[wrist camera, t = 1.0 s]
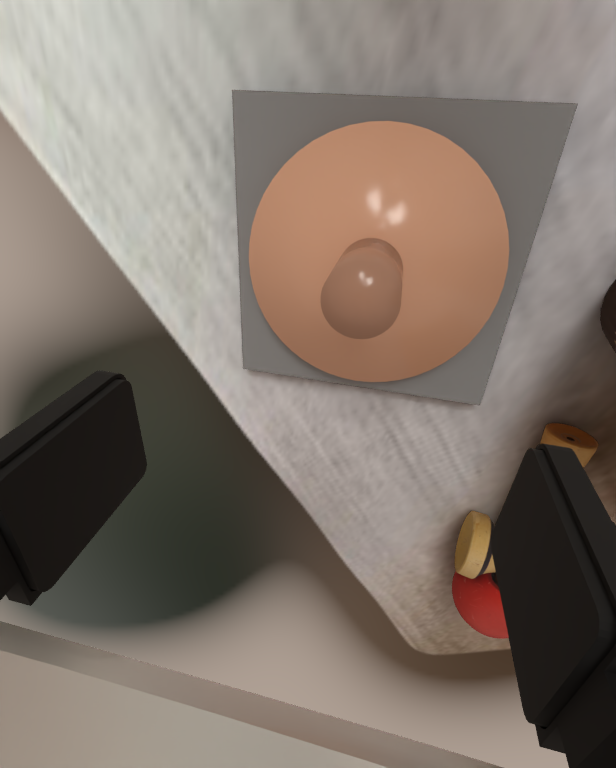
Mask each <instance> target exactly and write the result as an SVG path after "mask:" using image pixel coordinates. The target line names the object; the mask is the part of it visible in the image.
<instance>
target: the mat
mask: <svg viewBox="0 0 616 768" xmlns="http://www.w3.org/2000/svg"><path fill="white" fill-rule="evenodd" d="M232 99H233V124H234V150H235V175H236V200H237V226H238V251H239V277H240V302H241V327H242V353H243V369H248V370H254V371H260V372H267V373H273V374H280V375H286V376H293V377H299V378H306V379H312V380H319V381H325V382H331V383H338V384H344V385H351V386H357V387H364V388H370V389H377V390H383V391H390V392H396V393H402V394H409V395H415V396H422V397H428V398H435V399H441V400H448V401H454V402H461V403H467V404H473V405H480V404H481V400H482V397H483V394H484V391H485V388H486V385H487V382H488V379H489V376H490V373H491V370H492V367H493V363H494V360H495V357H496V354H497V351H498V348H499V345H500V342H501V339H502V336H503V333H504V330H505V327H506V323H507V320H508V317H509V314H510V311H511V308H512V305H513V302H514V299H515V296H516V293H517V290H518V287H519V283H520V280H521V277H522V274H523V271H524V268H525V265H526V262H527V259H528V256H529V253H530V250H531V246H532V243H533V240H534V237H535V234H536V231H537V228H538V225H539V222H540V219H541V216H542V213H543V210H544V206H545V203H546V200H547V197H548V194H549V191H550V188H551V185H552V182H553V179H554V176H555V173H556V169H557V166H558V163H559V160H560V157H561V154H562V151H563V148H564V145H565V142H566V139H567V136H568V133H569V129H570V126H571V123H572V120H573V117H574V114H575V111H576V108H577V105H578V104H573V103H548V102H523V101H498V100H472V99H447V98H422V97H397V96H372V95H346V94H321V93H296V92H271V91H246V90H232ZM369 121H394V122H402V123H409V124H413V125H416V126H420V127H423V128H426V129H429V130H431V131H433V132H436V133H438V134H440V135H442V136H444V137H446V138H448V139H449V140H450V141H452V142H453V143H455V144H456V145H458V146H459V147H461V148H462V149H463V150H464V151H465V152H466V153H468V154H469V155H470V156H471V157H472V158H473V159H474V160H475V161H476V162H477V163H478V164H479V166H480V167H481V168H482V170H483V171H484V172H485V174H486V175H487V176H488V178H489V179H490V181H491V183H492V185H493V187H494V188H495V190H496V192H497V194H498V196H499V199H500V202H501V204H502V207H503V210H504V213H505V217H506V222H507V227H508V234H509V259H508V269H507V274H506V278H505V282H504V287H503V289H502V292H501V294H500V297H499V300H498V302H497V304H496V306H495V308H494V310H493V312H492V314H491V316H490V318H489V319H488V321H487V322H486V323H485V325H484V326H483V328H482V329H481V330H480V332H479V333H478V334H477V335H476V336H475V337H474V338H473V339H472V341H471V342H470V343H469V344H468V345H467V346H466V347H464V348H463V349H462V350H461V351H460V352H459V353H457V354H456V355H455V356H453V357H452V358H450V359H449V360H447V361H446V362H444V363H443V364H441V365H439V366H437V367H435V368H433V369H431V370H429V371H427V372H424V373H422V374H419V375H416V376H413V377H409V378H405V379H401V380H395V381H387V382H364V381H355V380H350V379H345V378H341V377H338V376H335V375H332V374H329V373H327V372H325V371H322V370H320V369H318V368H316V367H314V366H312V365H311V364H309V363H308V362H306V361H304V360H303V359H301V358H300V357H299V356H298V355H296V354H295V353H294V352H292V351H291V350H290V349H289V348H288V347H287V346H286V345H285V344H284V343H283V342H282V341H281V340H280V338H279V337H278V336H277V335H276V333H275V332H274V331H273V330H272V328H271V327H270V325H269V323H268V322H267V320H266V319H265V317H264V315H263V313H262V311H261V309H260V307H259V304H258V302H257V299H256V296H255V293H254V290H253V285H252V281H251V276H250V267H249V242H250V235H251V229H252V224H253V221H254V218H255V214H256V211H257V208H258V206H259V204H260V201H261V199H262V197H263V194H264V193H265V191H266V189H267V188H268V186H269V184H270V183H271V181H272V179H273V178H274V177H275V175H276V174H277V173H278V172H279V170H280V169H281V168H282V167H283V165H284V164H285V163H286V162H287V161H288V160H289V159H291V158H292V157H293V156H294V155H295V154H296V153H297V152H298V151H299V150H301V149H302V148H304V147H305V146H306V145H308V144H309V143H311V142H312V141H313V140H315V139H317V138H319V137H321V136H323V135H325V134H327V133H329V132H331V131H333V130H336V129H339V128H342V127H345V126H348V125H352V124H358V123H363V122H369Z"/></svg>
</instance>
